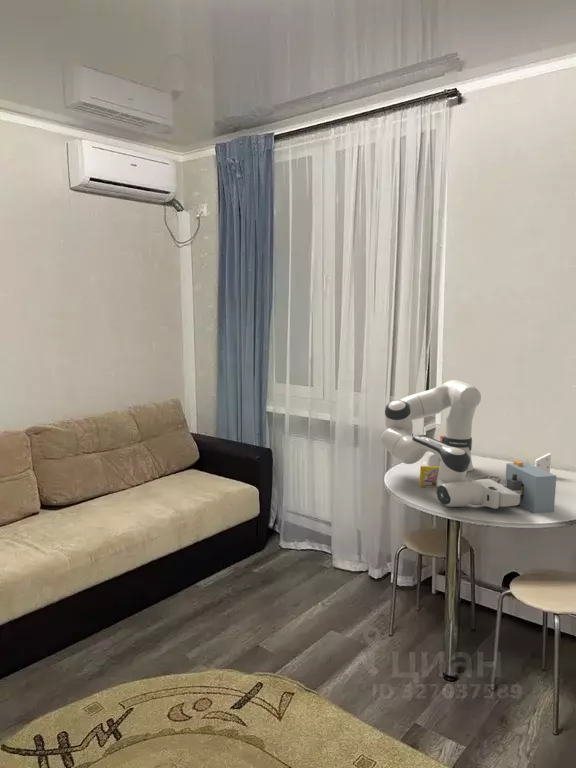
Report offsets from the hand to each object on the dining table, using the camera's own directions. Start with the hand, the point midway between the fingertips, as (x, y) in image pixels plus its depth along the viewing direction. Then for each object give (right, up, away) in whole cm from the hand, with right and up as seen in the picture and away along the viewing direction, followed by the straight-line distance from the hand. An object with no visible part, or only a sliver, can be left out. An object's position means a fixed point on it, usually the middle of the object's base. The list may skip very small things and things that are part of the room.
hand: (516, 490), depth 215 cm
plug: (+1, -5, +1) cm, 5 cm away
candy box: (-22, -3, +22) cm, 32 cm away
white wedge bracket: (+26, -1, +39) cm, 47 cm away
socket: (+5, -5, +2) cm, 8 cm away
